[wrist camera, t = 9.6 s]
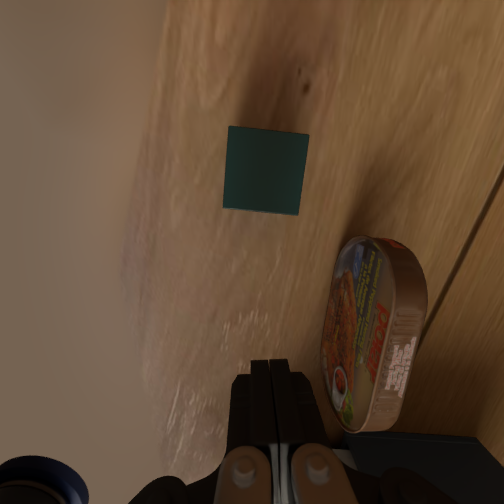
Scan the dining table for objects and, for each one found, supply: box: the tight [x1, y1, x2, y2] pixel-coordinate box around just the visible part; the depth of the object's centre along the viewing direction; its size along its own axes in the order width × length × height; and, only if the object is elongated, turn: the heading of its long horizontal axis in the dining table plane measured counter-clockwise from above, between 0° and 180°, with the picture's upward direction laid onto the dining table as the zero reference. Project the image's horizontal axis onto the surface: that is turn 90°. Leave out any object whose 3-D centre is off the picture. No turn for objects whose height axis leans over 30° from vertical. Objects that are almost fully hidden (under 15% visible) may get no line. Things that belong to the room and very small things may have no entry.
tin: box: [321, 235, 428, 433], centre depth 20 cm, size 15×3×8 cm, turn 174°
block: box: [223, 126, 309, 216], centre depth 19 cm, size 5×5×5 cm
